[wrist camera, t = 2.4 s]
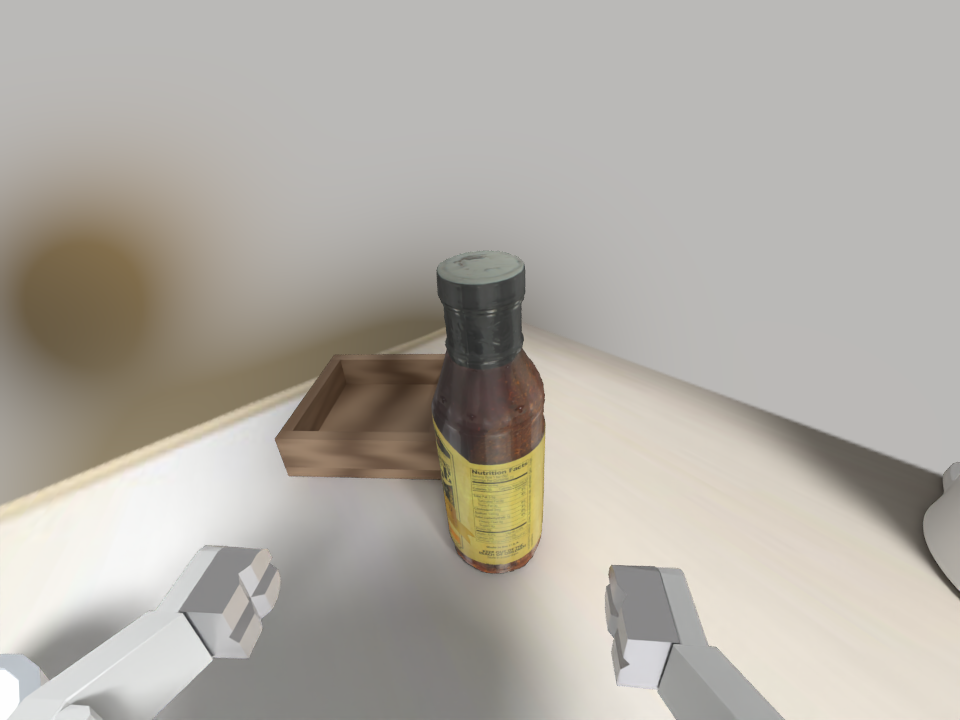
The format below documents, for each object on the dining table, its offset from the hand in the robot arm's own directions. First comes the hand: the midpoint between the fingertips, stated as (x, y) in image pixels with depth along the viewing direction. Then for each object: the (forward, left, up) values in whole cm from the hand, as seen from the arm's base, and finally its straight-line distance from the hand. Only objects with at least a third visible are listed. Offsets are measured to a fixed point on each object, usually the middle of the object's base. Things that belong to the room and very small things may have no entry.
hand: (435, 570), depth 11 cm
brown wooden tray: (+11, -25, -17) cm, 32 cm away
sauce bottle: (0, -13, -17) cm, 22 cm away
